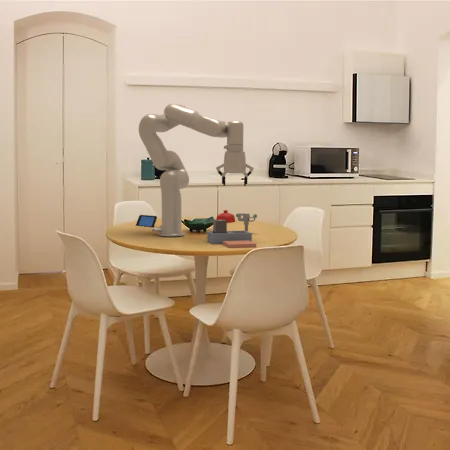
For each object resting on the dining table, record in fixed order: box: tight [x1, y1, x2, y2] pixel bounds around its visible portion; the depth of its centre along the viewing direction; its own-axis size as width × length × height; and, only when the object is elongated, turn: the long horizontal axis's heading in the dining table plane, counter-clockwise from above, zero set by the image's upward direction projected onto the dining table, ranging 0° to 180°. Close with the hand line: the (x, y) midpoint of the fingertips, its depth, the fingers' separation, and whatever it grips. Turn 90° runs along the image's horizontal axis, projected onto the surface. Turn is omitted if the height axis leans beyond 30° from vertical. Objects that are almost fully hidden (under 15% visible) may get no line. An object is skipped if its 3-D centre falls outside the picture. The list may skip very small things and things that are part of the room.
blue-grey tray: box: [206, 230, 253, 245], centre depth 294 cm, size 18×10×4 cm, turn 105°
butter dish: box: [215, 209, 236, 224], centre depth 370 cm, size 12×12×8 cm
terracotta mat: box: [222, 240, 257, 249], centre depth 282 cm, size 12×11×2 cm
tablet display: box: [135, 214, 158, 228], centre depth 343 cm, size 12×10×7 cm
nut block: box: [212, 219, 228, 233], centre depth 292 cm, size 5×5×10 cm
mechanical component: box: [235, 213, 258, 232], centre depth 327 cm, size 3×10×10 cm, turn 79°
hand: (234, 185), depth 302 cm, fingers open, 9 cm apart
